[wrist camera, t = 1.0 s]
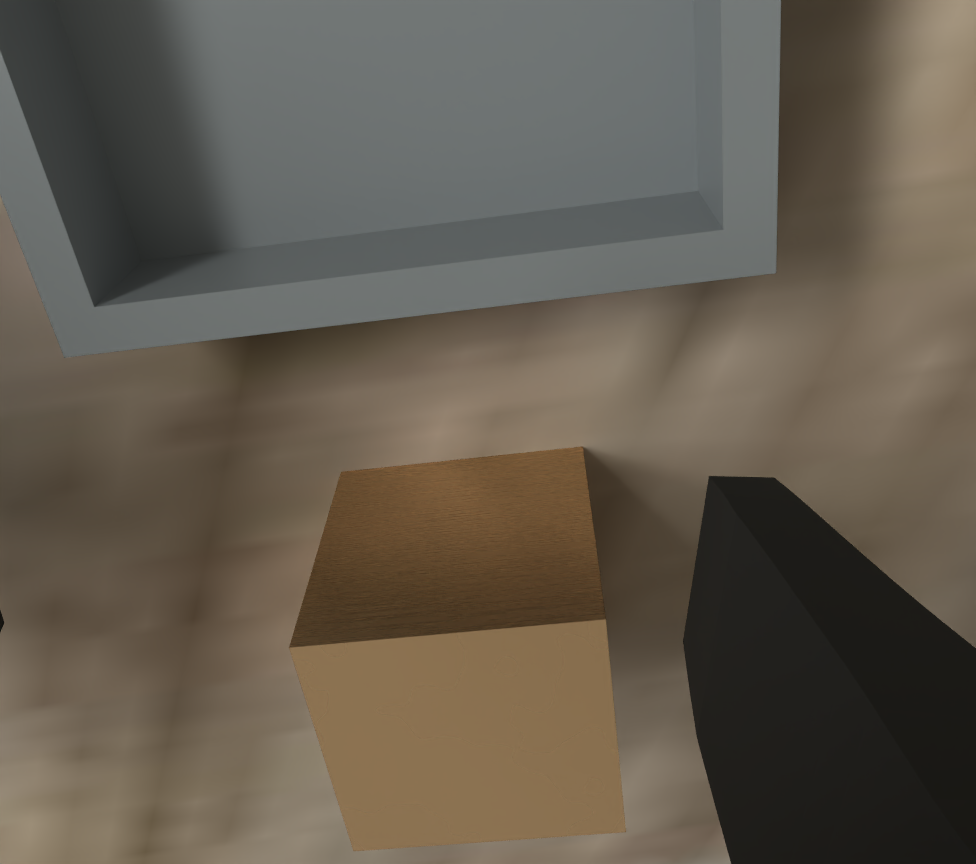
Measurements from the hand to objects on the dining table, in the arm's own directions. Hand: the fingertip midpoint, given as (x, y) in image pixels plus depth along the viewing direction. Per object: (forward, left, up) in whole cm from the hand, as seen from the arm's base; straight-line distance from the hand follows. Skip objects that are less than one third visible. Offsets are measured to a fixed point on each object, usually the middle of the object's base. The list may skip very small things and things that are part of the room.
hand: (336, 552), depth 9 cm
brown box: (-6, -5, -10) cm, 12 cm away
